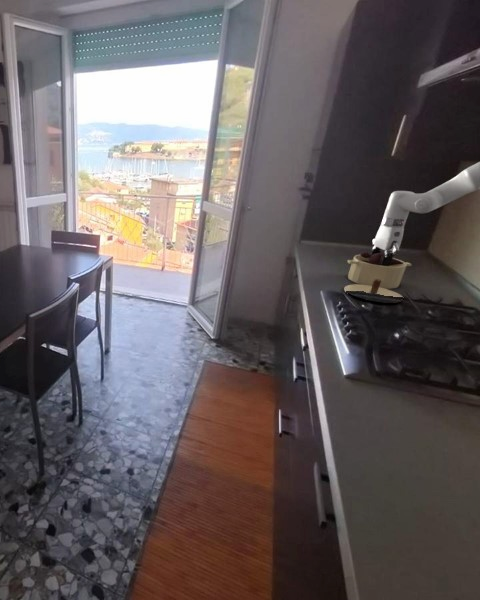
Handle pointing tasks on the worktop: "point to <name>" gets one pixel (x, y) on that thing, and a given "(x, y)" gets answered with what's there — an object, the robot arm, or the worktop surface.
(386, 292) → the lid
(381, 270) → the pot
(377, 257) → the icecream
